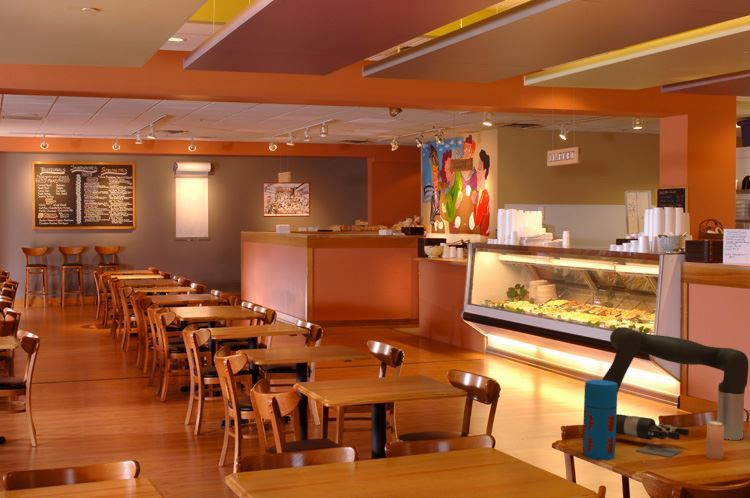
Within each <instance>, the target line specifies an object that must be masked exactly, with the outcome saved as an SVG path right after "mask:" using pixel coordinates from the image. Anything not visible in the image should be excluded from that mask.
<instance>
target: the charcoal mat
mask: <svg viewBox="0 0 750 498" xmlns="http://www.w3.org/2000/svg"><path fill="white" fill-rule="evenodd" d="M636 451H637V452H636ZM635 452H636V453H641V452H642V454H646V453H647V454H648V455H653V456H657V455H658V456H657V457H663V458H668V459H670V458H672V457H674V456H677V455H679V454H681V453H682V452H684V451H683V450H681V449H677V448H670V447H665V446H659V445H653V444H648V445H645V446H643V447H642V448H641V447H640V448H639V449H637V450H635Z"/></svg>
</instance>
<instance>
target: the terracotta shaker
mask: <svg viewBox="0 0 750 498" xmlns="http://www.w3.org/2000/svg"><path fill="white" fill-rule="evenodd" d="M724 440H725V439H724V425H723V423H722V422H718V421H717V420H710V421H708V423H707V424H706V441H705V442H706V447H705V457H706V458H707V459H710V460H723V459H724V442H725V441H724Z"/></svg>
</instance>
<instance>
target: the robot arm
mask: <svg viewBox="0 0 750 498" xmlns="http://www.w3.org/2000/svg"><path fill="white" fill-rule="evenodd" d="M609 340H610V344H611V346H612V347H613V349H615V350H616V352H615V356H614V359H613V361H612V363H611V365H610V366H609V369H607V371H606V372H605V374H604V376H603V377H602V379H601V380H606V381H612V382H616V383H617V388H618V389H617V395H618V393H619V391H620V389H621V388H620V387H621V385H622V383H623V380H624V378H625V376H626V373H627V371H628V370H629V368H630V365H631V364H632V362H633V360H634V358H635V357H636V355H637V353H642V354H646V355H649V356H652V357H655V358H657V359H660V360H663V361H666V362H670V363H675V364H679V365H687V366H688V365H689V366H690V365H692V366H694V365H696V366H697V365H699V366H700V365H701V366H706V367H710V368H713V369H716V370H719V371H721V372H723V379H722V381H721V382H719V383H718V387H717V388H718V391H717V392H718V393H717V413H716V414H717V415H716V421H718V422H722V423H723V425H724V440H728V439H729V440H728V441H740V439H741V440H743V439H744V438H743V437H744V434H743V433H744V417H745V415H744V414H745V413H744V411H745V393H746V392H745V391H746V387H747V385H748V381H749V380H748V379H749V378H748V377H749V368H750V367H749V363H750V362H749V359H748V356H747V355H746V353H744V352H743V351H742V350H738V349H735V348H732V347H731V348H729V347H719V346H716V347H715V346H709V345H708V346H707V345H704V344H702V343H698V342H696V341H692V340H689V339H685V338H679V337H675V336H674V337H673V336H667V335H660V334H649V333H644V332H640V331H638V330H634V329H631V328H628V327H626V326H620V327H617V328H616V329H614V330H613V331H612V332H611V334H610V337H609ZM617 434H618V435H623V436H628V437H632V438H636V439H637V438H638V439H643V440H649V441H650V440H652V439H660V440H665V439H666V440H668V439H671V440H678V441H679V440H680V439H681V436H685V437H688V436H689V435H690V429H687V428H682V427H679V425H673V424H667V423H660V424H656V421H655V419H653V418H649V417H643V416H637V415H627V414H619V413H617V416H616V435H617ZM742 438H743V439H742Z"/></svg>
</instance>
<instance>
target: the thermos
mask: <svg viewBox="0 0 750 498" xmlns="http://www.w3.org/2000/svg"><path fill="white" fill-rule="evenodd" d="M617 389H618V388H617V383H616V382H612V381H606V380H602V379H589V380H585V383H584V398H583V399H584V401H583V429H582V456H583V457H585V458H588V459H591V460H600V461H601V460H602V461H605V460H613V459H614V458H615V455H616V454H615V453H616V438H617V437H616V435H617V433H616V416H617V414H618V413H617V411H618V407H617V406H618V394H617Z"/></svg>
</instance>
